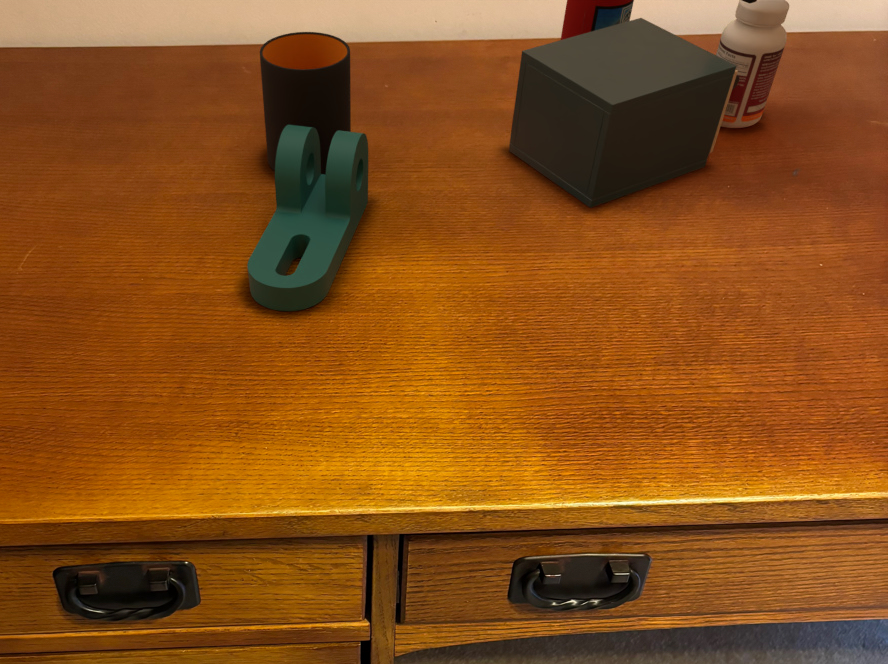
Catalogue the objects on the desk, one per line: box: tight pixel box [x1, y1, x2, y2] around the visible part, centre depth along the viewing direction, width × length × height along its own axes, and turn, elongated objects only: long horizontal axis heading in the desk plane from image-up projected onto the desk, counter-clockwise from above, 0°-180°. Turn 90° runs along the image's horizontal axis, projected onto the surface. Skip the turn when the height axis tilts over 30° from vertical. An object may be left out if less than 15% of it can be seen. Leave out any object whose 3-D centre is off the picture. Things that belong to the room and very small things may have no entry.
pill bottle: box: [715, 0, 790, 129], centre depth 92 cm, size 6×6×11 cm
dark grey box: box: [508, 17, 737, 209], centre depth 87 cm, size 15×13×10 cm
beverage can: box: [560, 0, 635, 40], centre depth 97 cm, size 7×7×12 cm
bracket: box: [246, 125, 369, 312], centre depth 78 cm, size 18×7×8 cm, turn 166°
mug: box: [259, 31, 352, 175], centre depth 88 cm, size 8×12×10 cm
